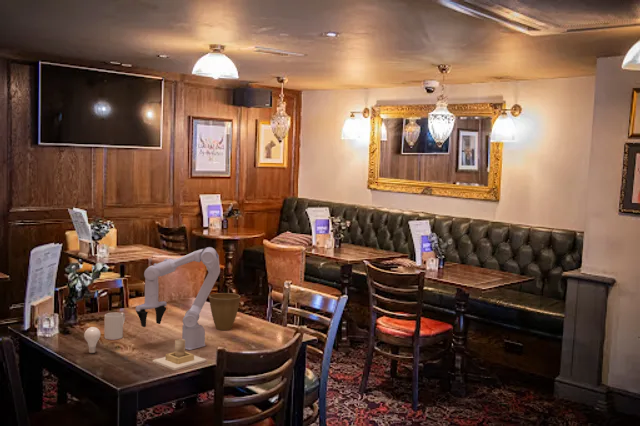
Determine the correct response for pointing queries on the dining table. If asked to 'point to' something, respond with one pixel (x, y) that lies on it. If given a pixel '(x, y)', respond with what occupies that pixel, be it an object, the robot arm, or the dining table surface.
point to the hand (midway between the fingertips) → (151, 325)
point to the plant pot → (224, 309)
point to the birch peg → (179, 348)
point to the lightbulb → (92, 338)
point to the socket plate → (179, 361)
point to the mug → (114, 325)
